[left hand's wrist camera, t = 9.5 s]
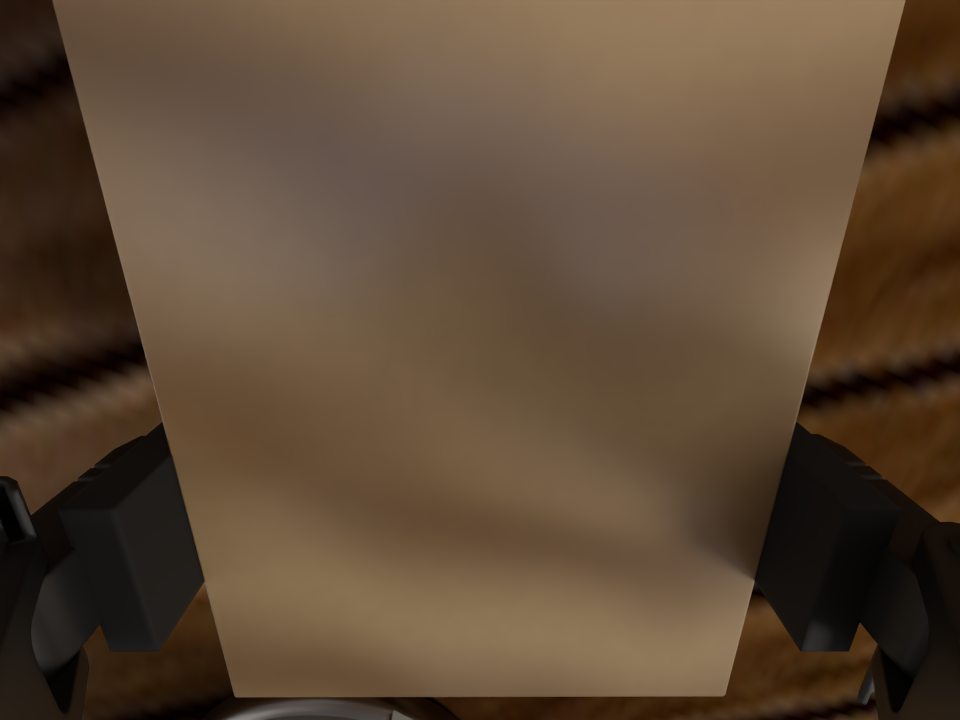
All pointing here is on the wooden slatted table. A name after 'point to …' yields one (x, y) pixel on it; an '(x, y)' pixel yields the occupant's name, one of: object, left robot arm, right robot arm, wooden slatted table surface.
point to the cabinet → (479, 316)
